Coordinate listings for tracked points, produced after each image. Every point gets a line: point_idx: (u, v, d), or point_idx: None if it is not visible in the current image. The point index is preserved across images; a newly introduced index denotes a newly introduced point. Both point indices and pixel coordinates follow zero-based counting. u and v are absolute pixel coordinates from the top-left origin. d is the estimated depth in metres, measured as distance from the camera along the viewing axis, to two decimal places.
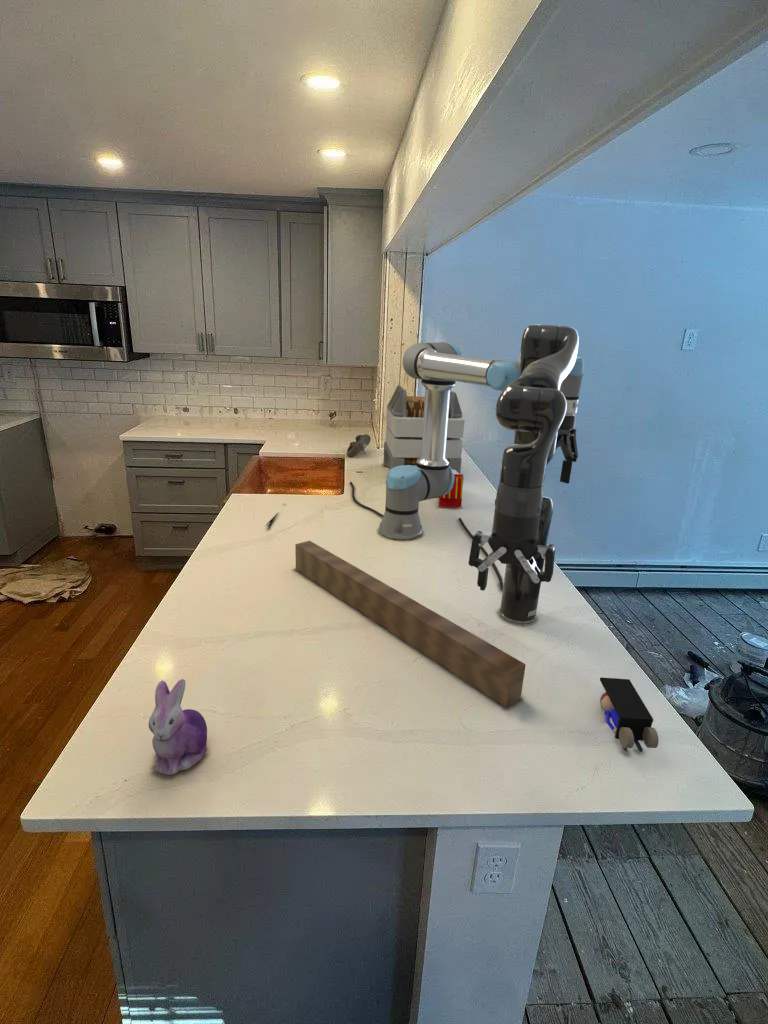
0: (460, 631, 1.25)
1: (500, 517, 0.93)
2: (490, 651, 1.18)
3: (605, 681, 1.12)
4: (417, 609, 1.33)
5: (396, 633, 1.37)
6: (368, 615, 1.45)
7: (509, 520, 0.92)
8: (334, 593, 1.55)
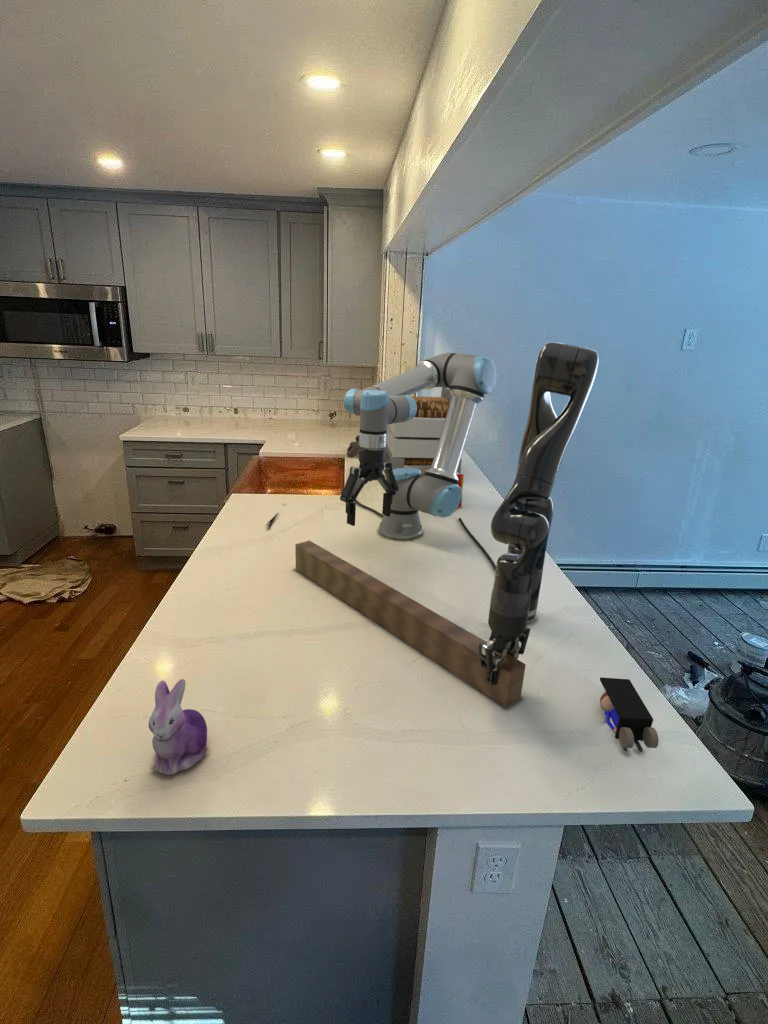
0: (460, 631, 1.25)
1: None
2: None
3: (605, 681, 1.12)
4: (417, 609, 1.33)
5: (396, 633, 1.37)
6: (368, 615, 1.45)
7: None
8: (334, 593, 1.55)
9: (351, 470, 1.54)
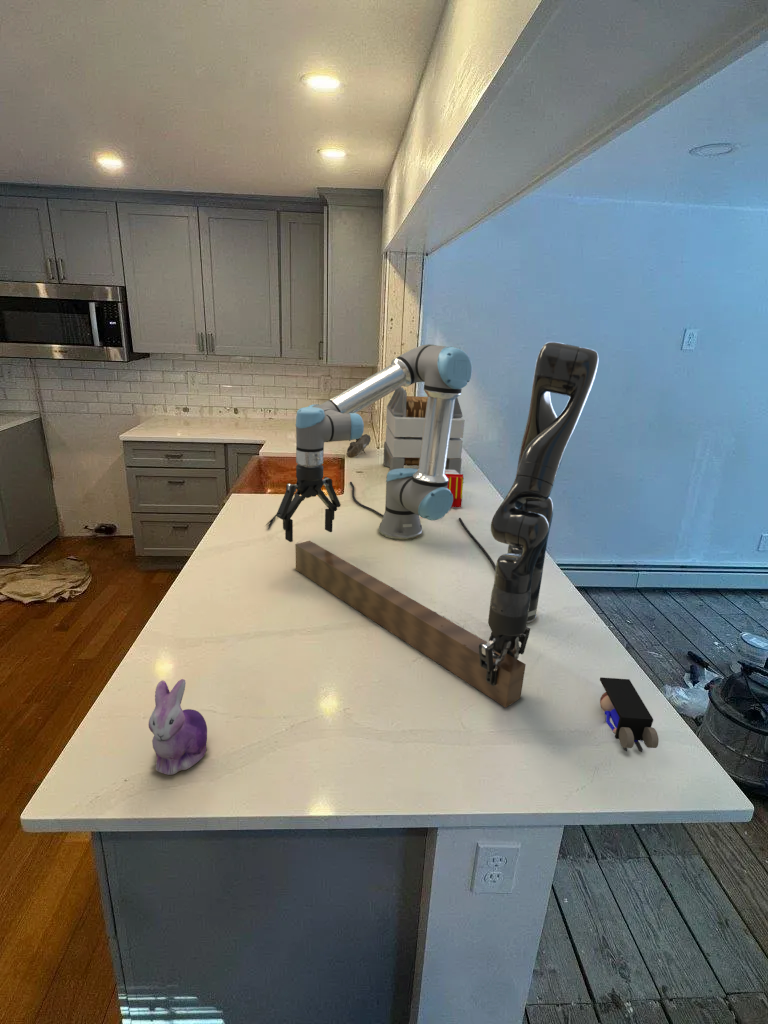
0: (460, 630, 1.25)
1: None
2: None
3: (605, 681, 1.12)
4: (417, 609, 1.33)
5: (396, 633, 1.37)
6: (368, 615, 1.45)
7: None
8: (334, 593, 1.55)
9: (287, 487, 1.55)
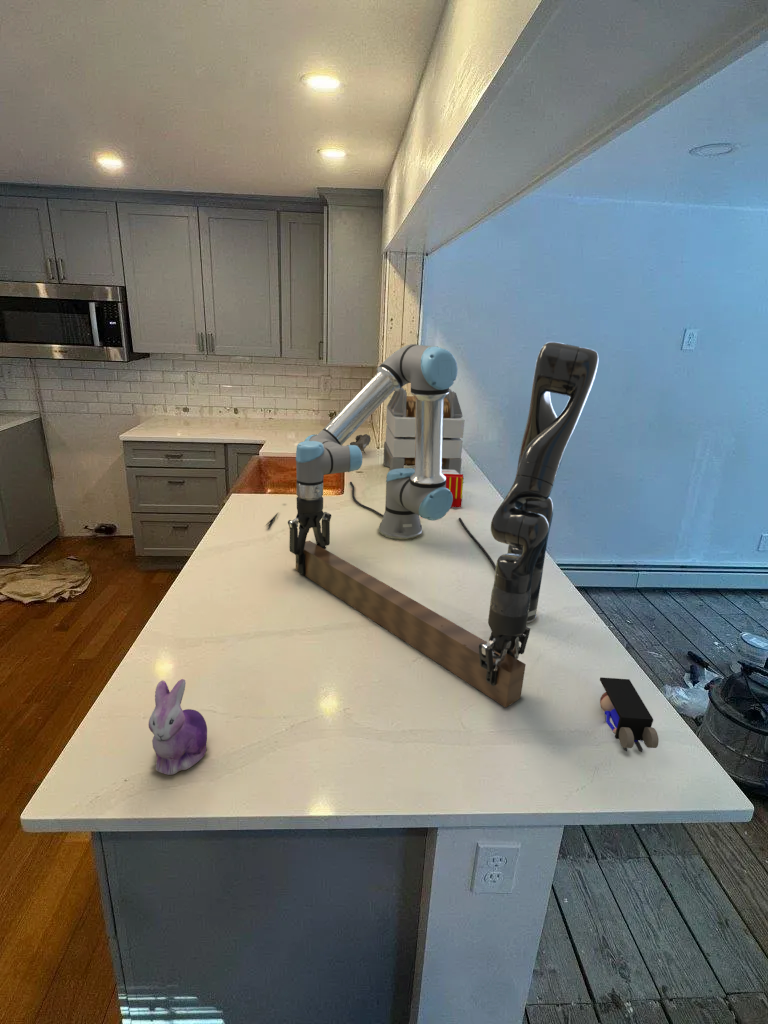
0: (460, 630, 1.25)
1: None
2: None
3: (605, 681, 1.12)
4: (417, 609, 1.33)
5: (396, 633, 1.37)
6: (368, 615, 1.45)
7: None
8: (334, 593, 1.55)
9: (289, 524, 1.59)
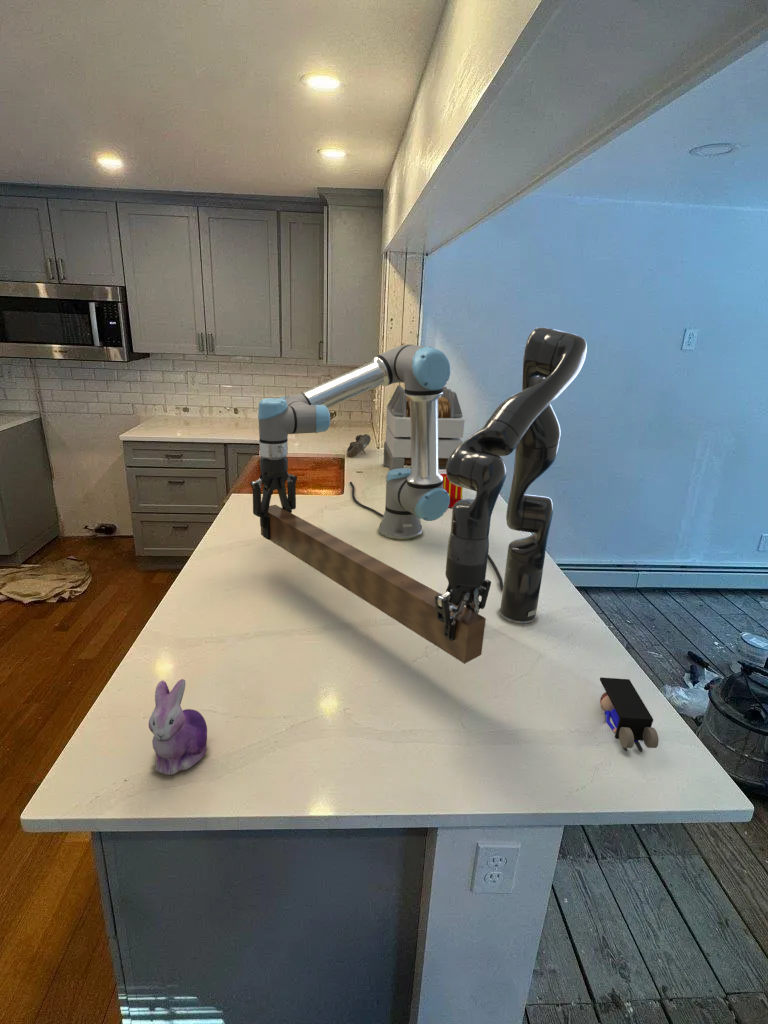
0: (420, 587, 1.20)
1: None
2: None
3: (605, 681, 1.12)
4: (378, 567, 1.28)
5: (357, 593, 1.32)
6: (331, 576, 1.39)
7: None
8: (297, 556, 1.50)
9: (252, 485, 1.53)
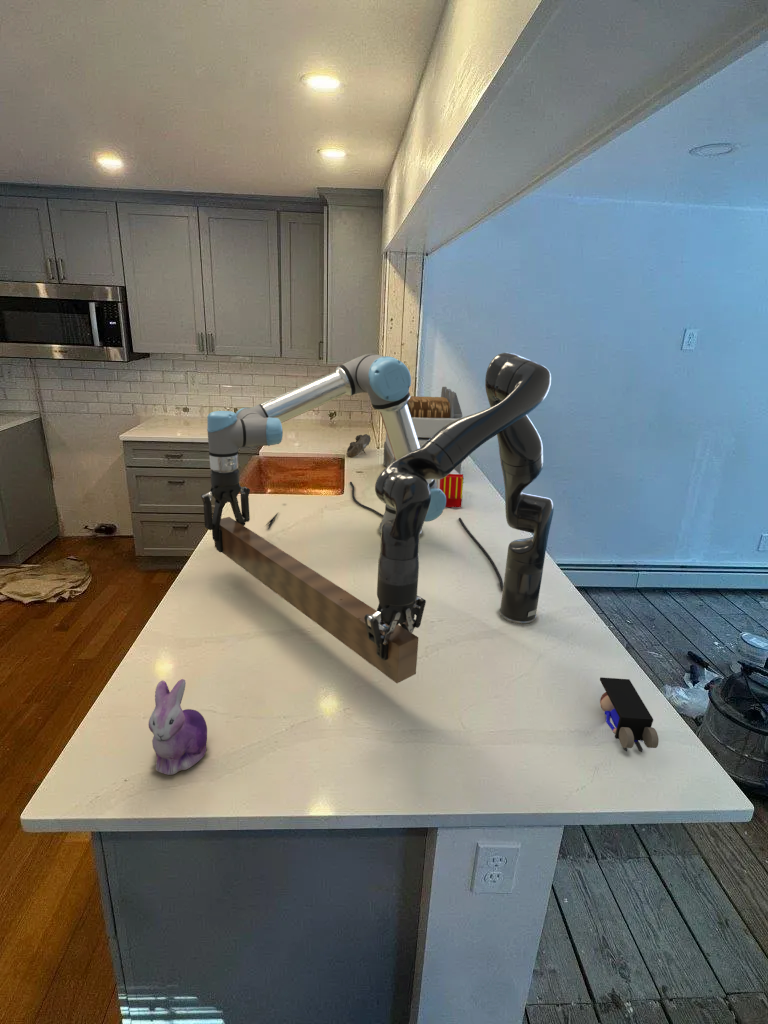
0: (358, 604, 1.19)
1: None
2: None
3: (605, 681, 1.12)
4: (320, 583, 1.27)
5: (301, 609, 1.31)
6: (277, 591, 1.38)
7: None
8: (247, 569, 1.49)
9: (202, 498, 1.52)
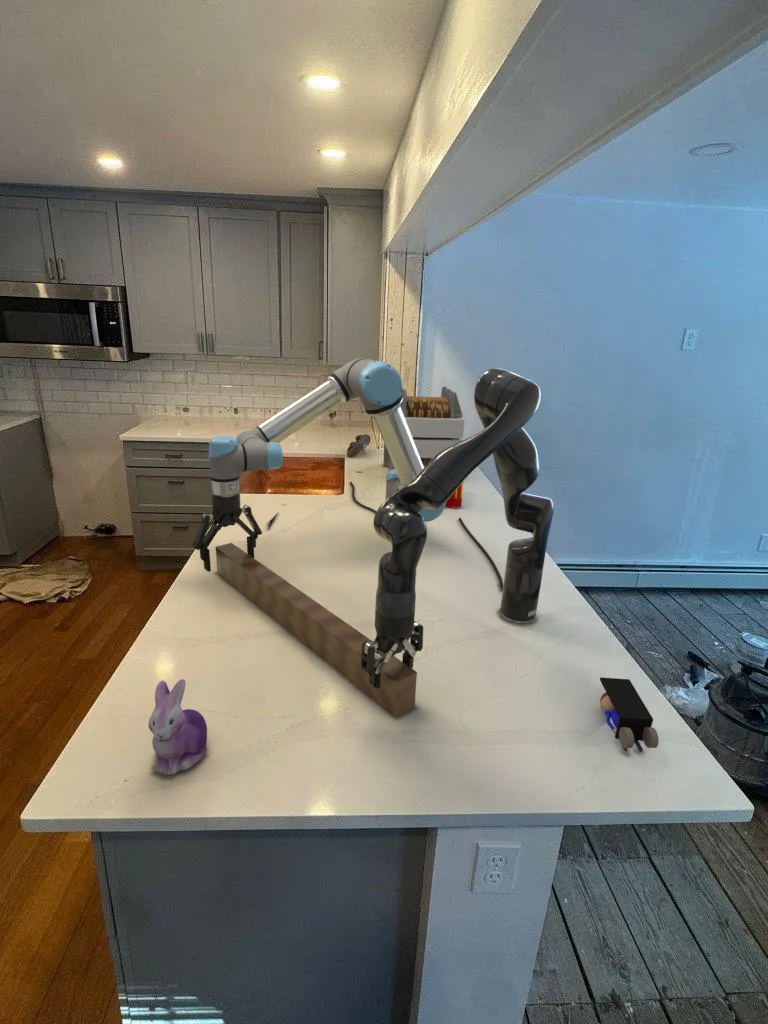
0: (358, 637, 1.21)
1: None
2: None
3: (605, 681, 1.12)
4: (321, 614, 1.29)
5: (302, 639, 1.33)
6: (278, 620, 1.41)
7: None
8: (249, 597, 1.51)
9: (202, 517, 1.54)
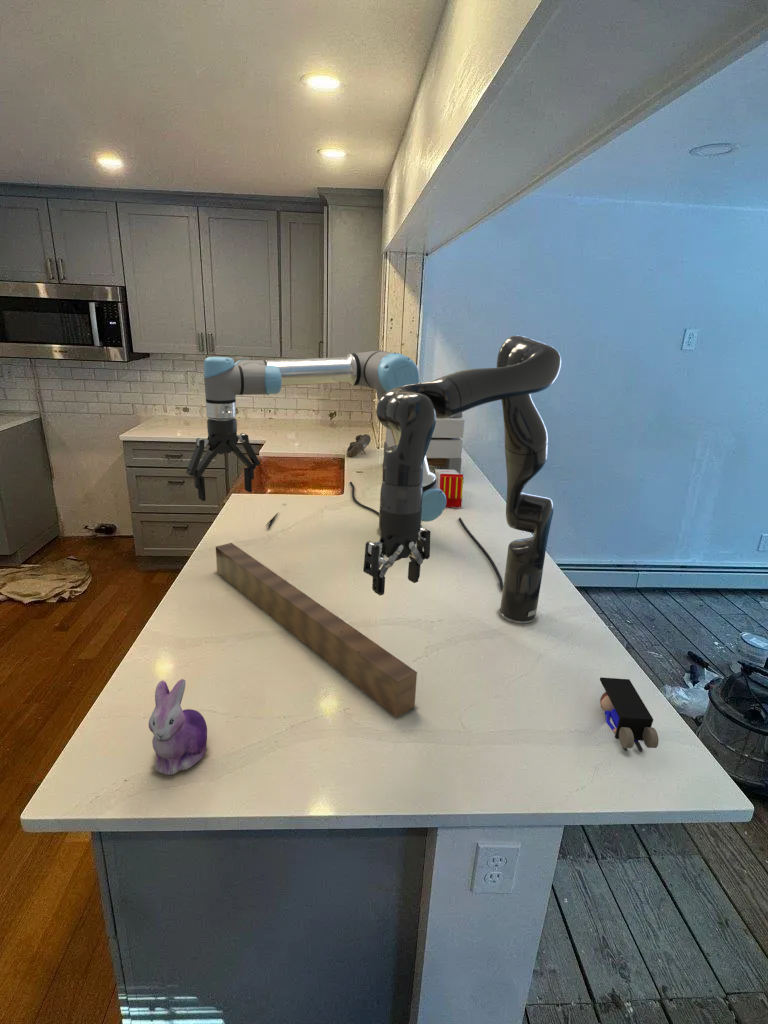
0: (358, 637, 1.21)
1: None
2: (383, 659, 1.14)
3: (605, 681, 1.12)
4: (321, 614, 1.29)
5: (302, 639, 1.33)
6: (278, 620, 1.41)
7: None
8: (249, 597, 1.51)
9: (197, 442, 1.47)
